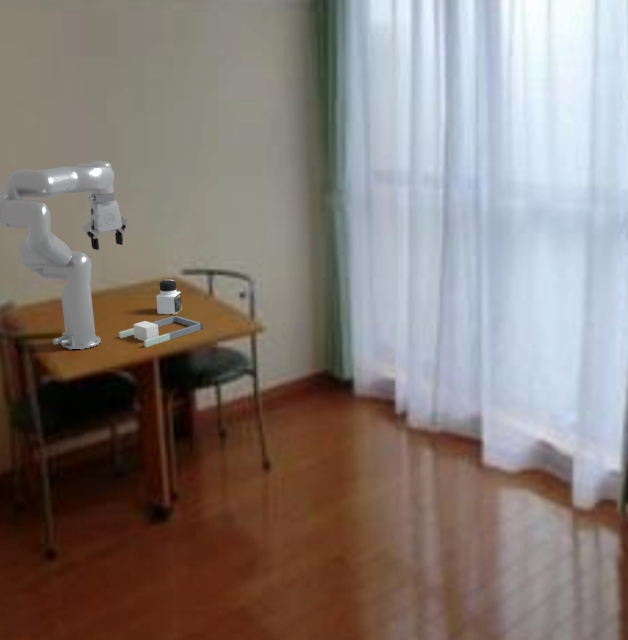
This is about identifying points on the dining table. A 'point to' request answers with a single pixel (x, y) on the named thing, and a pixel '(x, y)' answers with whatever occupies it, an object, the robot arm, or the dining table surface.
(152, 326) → the white block
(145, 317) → the dining table surface
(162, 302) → the medicine bottle
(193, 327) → the bay
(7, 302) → the dining table surface
